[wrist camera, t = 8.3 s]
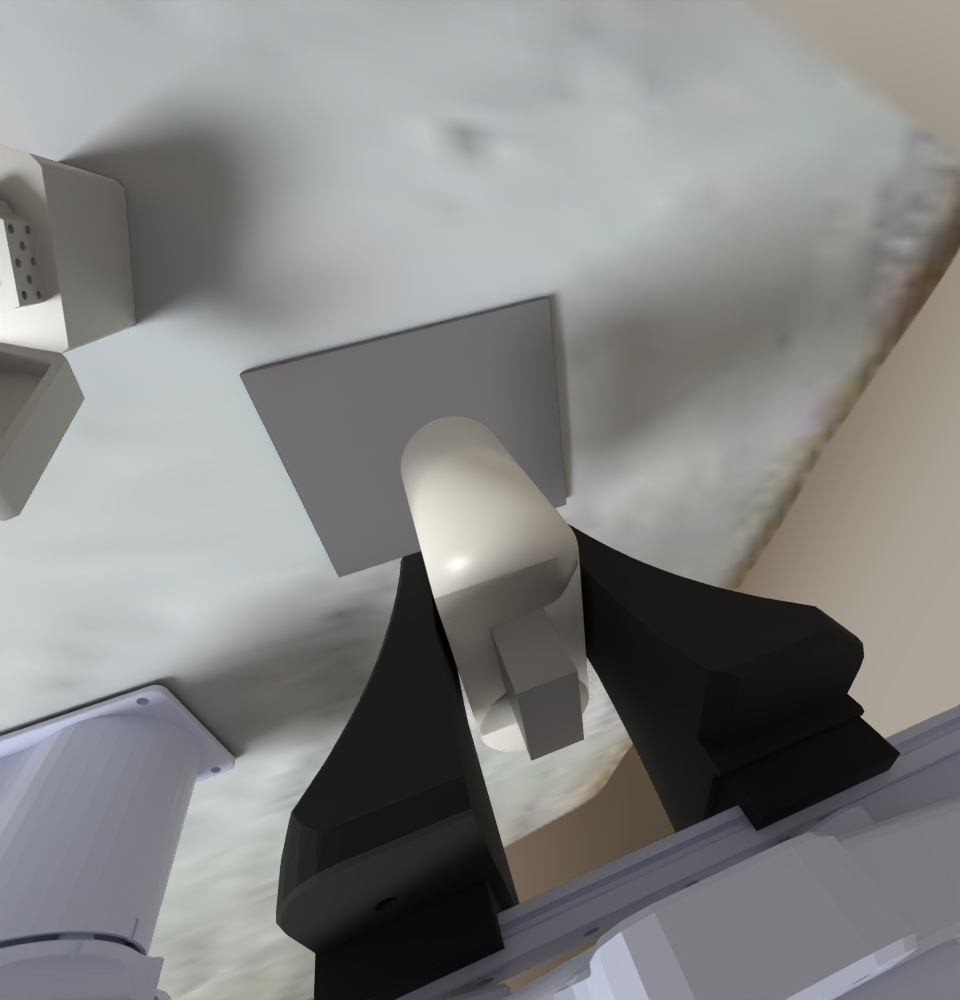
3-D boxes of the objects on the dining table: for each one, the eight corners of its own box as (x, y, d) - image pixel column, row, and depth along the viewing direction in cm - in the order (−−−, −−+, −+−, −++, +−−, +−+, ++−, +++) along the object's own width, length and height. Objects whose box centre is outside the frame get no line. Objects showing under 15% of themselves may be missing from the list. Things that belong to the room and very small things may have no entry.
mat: (339, 570, 21) (338, 577, 21) (241, 371, 16) (239, 375, 15) (562, 499, 23) (566, 504, 22) (544, 297, 17) (549, 298, 17)
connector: (451, 629, 16) (509, 831, 10) (387, 433, 11) (429, 601, 6) (526, 603, 16) (622, 784, 11) (492, 403, 12) (623, 536, 6)
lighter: (47, 159, 12) (-318, 49, 5) (124, 182, 13) (-118, 108, 6) (83, 404, 15) (-122, 530, 8) (143, 413, 16) (-3, 536, 9)
